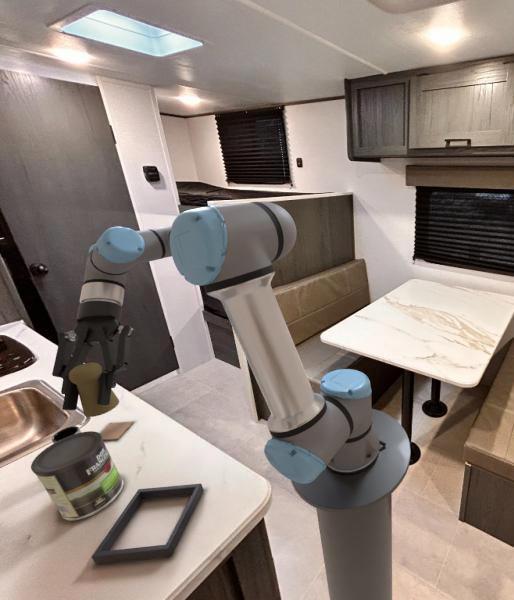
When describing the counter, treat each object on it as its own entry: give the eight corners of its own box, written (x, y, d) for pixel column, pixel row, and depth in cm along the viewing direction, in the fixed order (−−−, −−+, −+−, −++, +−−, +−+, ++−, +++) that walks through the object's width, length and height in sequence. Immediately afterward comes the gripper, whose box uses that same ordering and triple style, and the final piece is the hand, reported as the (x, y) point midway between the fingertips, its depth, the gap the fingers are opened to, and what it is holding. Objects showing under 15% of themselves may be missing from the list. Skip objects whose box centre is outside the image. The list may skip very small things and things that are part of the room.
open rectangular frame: (204, 491, 71) (201, 483, 70) (171, 556, 59) (167, 548, 58) (142, 496, 69) (138, 489, 68) (96, 565, 57) (91, 556, 56)
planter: (69, 477, 74) (50, 444, 70) (70, 464, 77) (52, 432, 73) (95, 465, 76) (78, 433, 72) (95, 453, 79) (78, 423, 75)
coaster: (133, 422, 89) (132, 421, 89) (118, 439, 84) (117, 438, 84) (110, 424, 89) (109, 423, 88) (93, 441, 83) (93, 440, 83)
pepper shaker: (95, 419, 67) (75, 377, 63) (77, 413, 69) (55, 371, 65) (125, 401, 72) (108, 361, 68) (107, 395, 74) (90, 356, 70)
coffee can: (133, 471, 75) (112, 427, 69) (107, 514, 66) (81, 466, 60) (81, 481, 73) (55, 435, 67) (47, 526, 63) (14, 478, 58)
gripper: (154, 306, 80) (146, 400, 72) (66, 315, 75) (47, 416, 67) (138, 295, 73) (127, 397, 65) (40, 303, 68) (15, 414, 60)
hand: (86, 406), depth 66 cm, fingers closed on pepper shaker, 5 cm apart
